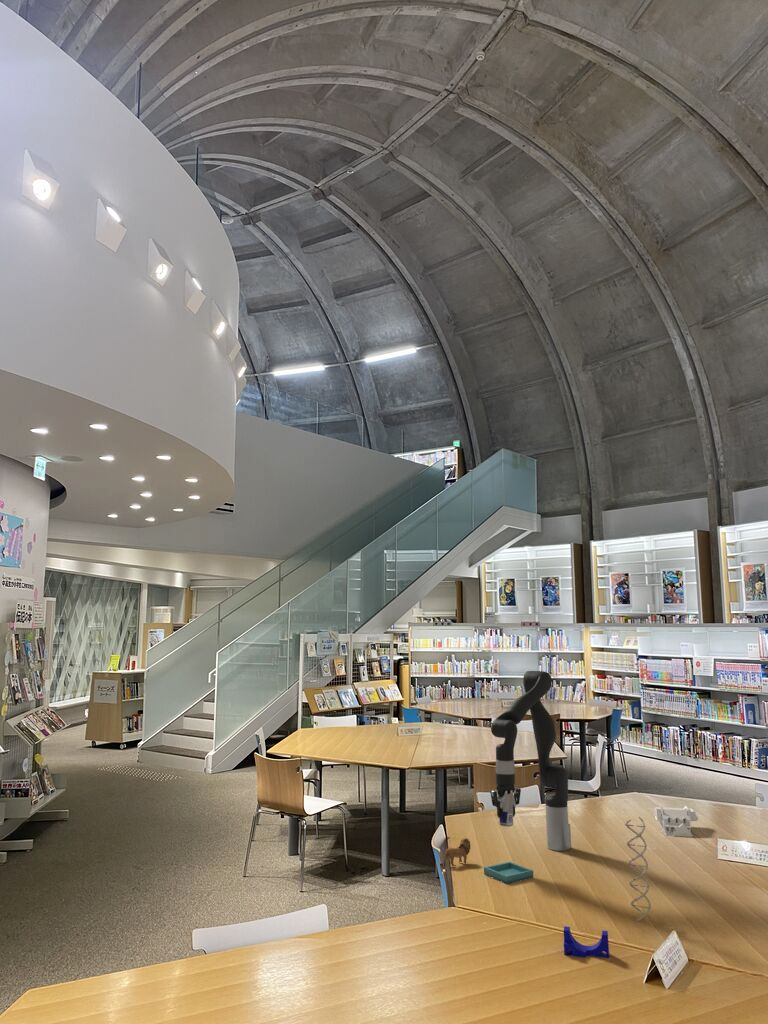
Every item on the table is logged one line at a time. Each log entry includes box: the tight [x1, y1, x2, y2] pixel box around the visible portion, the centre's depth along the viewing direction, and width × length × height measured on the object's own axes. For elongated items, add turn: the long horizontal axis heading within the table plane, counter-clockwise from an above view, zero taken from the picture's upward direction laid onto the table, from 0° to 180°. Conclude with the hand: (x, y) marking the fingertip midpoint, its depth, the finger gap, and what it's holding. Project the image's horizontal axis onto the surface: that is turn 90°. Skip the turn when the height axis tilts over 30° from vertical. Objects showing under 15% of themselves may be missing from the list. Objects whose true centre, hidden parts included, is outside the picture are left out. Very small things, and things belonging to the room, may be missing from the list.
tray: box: [483, 861, 534, 885], centre depth 265 cm, size 13×13×2 cm
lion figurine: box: [442, 837, 471, 868], centre depth 280 cm, size 15×5×9 cm, turn 131°
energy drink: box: [498, 793, 514, 828], centre depth 278 cm, size 5×5×12 cm
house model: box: [653, 805, 699, 838], centre depth 327 cm, size 19×20×10 cm
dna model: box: [624, 816, 652, 921], centre depth 227 cm, size 7×6×30 cm
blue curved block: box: [563, 925, 610, 959], centre depth 199 cm, size 12×4×6 cm, turn 72°
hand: (506, 817), depth 277 cm, fingers closed on energy drink, 5 cm apart
